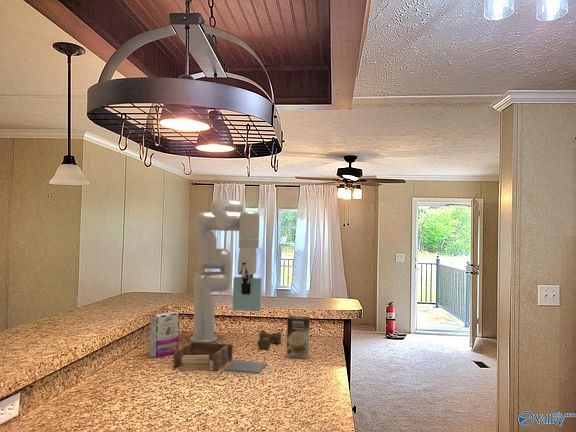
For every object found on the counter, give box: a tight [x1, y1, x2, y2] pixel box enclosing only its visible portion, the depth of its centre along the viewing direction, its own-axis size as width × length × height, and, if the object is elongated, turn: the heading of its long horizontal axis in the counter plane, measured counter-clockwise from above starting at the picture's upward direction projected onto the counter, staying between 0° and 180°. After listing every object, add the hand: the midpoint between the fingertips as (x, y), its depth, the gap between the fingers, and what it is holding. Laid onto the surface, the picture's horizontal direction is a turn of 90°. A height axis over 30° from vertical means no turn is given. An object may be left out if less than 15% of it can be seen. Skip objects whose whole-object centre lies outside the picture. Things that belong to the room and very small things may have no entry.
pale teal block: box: [232, 276, 263, 312], centre depth 171 cm, size 3×10×12 cm, turn 79°
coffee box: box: [285, 315, 311, 360], centre depth 188 cm, size 9×6×16 cm
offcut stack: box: [180, 355, 211, 372], centre depth 167 cm, size 5×10×4 cm, turn 98°
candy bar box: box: [148, 311, 180, 359], centre depth 186 cm, size 11×5×16 cm, turn 143°
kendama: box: [257, 329, 282, 351], centre depth 207 cm, size 6×10×20 cm
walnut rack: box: [173, 340, 233, 372], centre depth 173 cm, size 16×18×6 cm
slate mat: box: [223, 360, 268, 375], centre depth 170 cm, size 12×13×1 cm
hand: (247, 293), depth 171 cm, fingers closed on pale teal block, 3 cm apart
